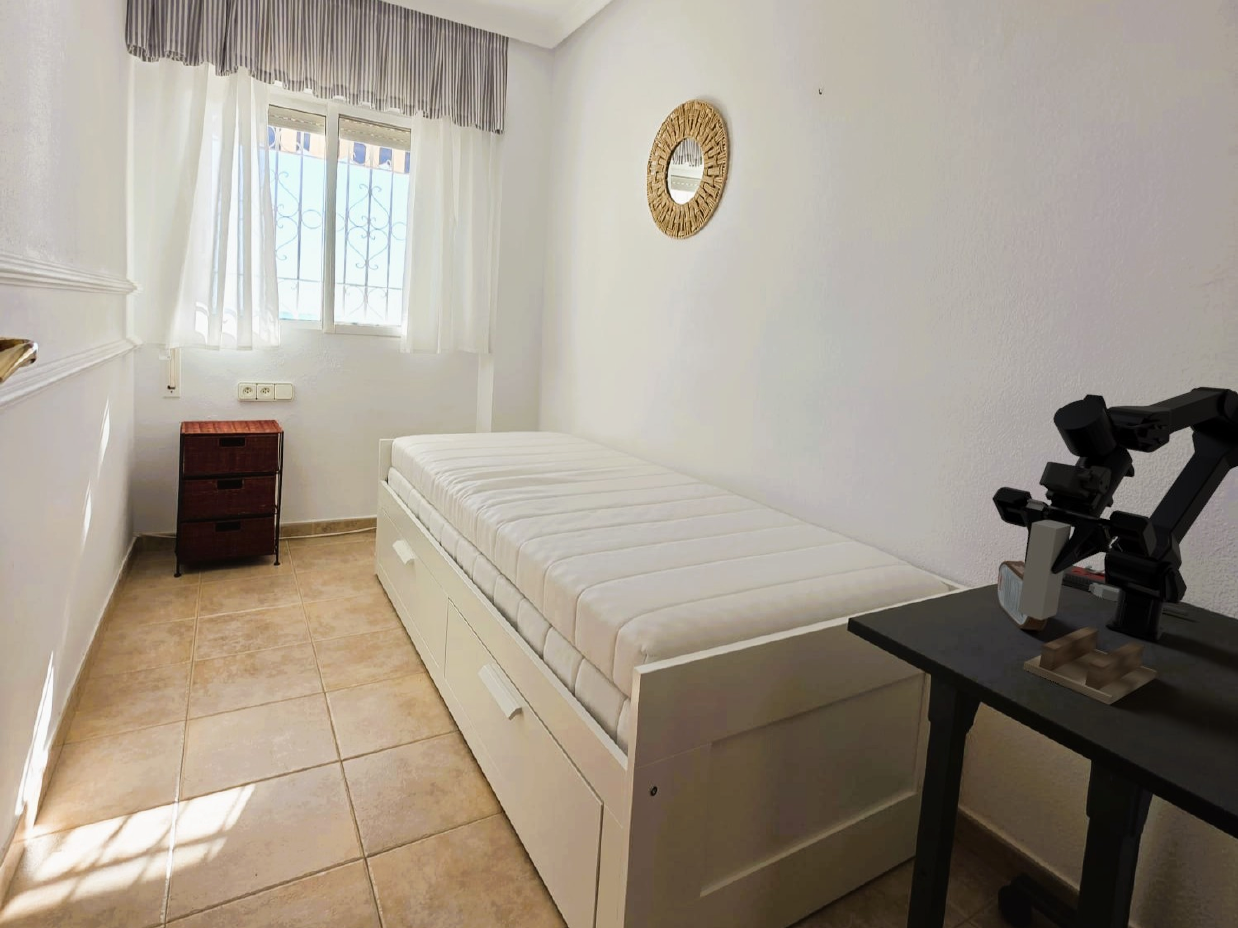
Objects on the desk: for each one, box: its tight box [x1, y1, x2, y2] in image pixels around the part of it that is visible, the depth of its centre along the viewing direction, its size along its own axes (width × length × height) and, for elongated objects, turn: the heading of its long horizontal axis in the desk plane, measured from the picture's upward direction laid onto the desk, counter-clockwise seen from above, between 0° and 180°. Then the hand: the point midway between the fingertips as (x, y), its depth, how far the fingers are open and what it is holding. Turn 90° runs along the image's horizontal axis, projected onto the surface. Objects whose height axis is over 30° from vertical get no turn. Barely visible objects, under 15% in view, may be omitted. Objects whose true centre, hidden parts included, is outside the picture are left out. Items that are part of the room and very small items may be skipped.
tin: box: [996, 560, 1048, 632], centre depth 108 cm, size 15×3×8 cm, turn 168°
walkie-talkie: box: [1061, 564, 1190, 617], centre depth 122 cm, size 9×4×20 cm
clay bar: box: [1018, 520, 1072, 620], centre depth 92 cm, size 4×3×12 cm
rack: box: [1022, 625, 1157, 705], centre depth 90 cm, size 14×10×4 cm
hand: (1039, 568), depth 91 cm, fingers closed on clay bar, 3 cm apart
